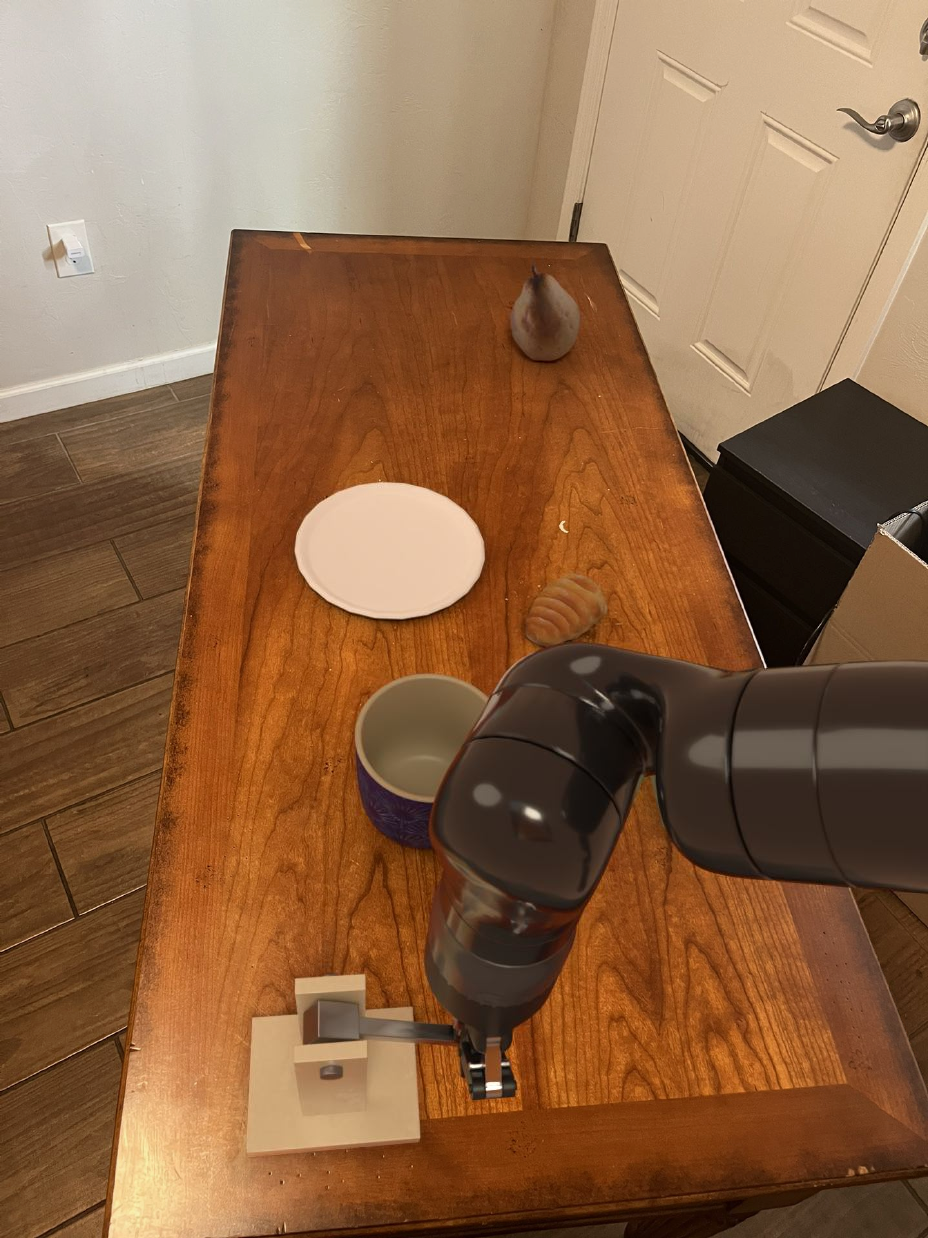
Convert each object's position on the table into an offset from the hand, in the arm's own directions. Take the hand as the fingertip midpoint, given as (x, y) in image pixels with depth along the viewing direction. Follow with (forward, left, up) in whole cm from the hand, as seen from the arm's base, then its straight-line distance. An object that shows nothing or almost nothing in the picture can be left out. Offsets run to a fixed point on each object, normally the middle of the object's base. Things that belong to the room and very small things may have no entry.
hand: (468, 1031), depth 63 cm
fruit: (+68, -66, -10) cm, 95 cm away
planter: (+20, -11, -10) cm, 25 cm away
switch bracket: (+5, +8, -10) cm, 13 cm away
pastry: (+29, -36, -10) cm, 47 cm away
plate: (+47, -26, -10) cm, 54 cm away
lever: (+3, +5, 0) cm, 6 cm away
